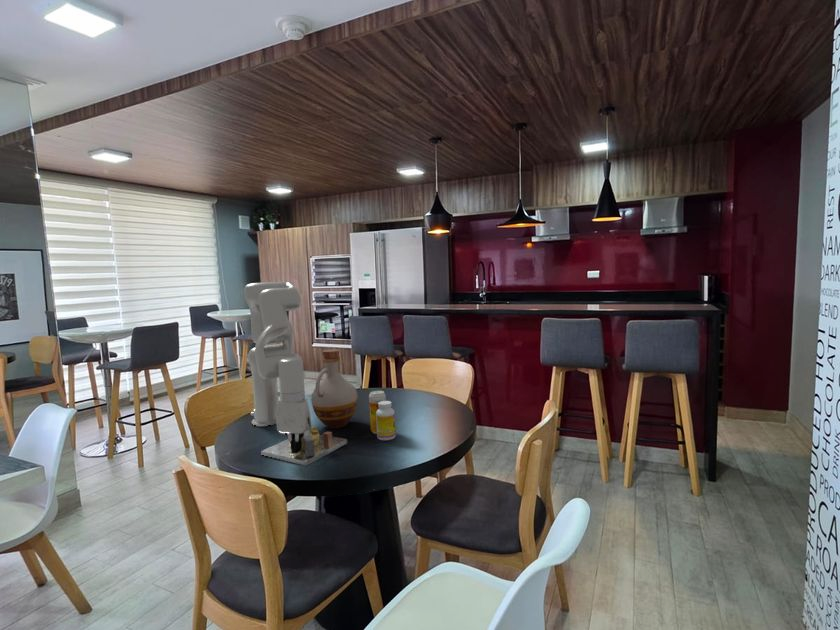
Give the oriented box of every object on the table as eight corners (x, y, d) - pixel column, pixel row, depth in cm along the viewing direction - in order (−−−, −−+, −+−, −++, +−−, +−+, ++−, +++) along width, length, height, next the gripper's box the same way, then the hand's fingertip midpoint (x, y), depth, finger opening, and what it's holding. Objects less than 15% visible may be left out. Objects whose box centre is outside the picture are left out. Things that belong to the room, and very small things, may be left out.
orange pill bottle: (373, 435, 160) (371, 395, 159) (368, 430, 166) (366, 391, 164) (389, 432, 162) (387, 392, 161) (384, 427, 168) (382, 389, 167)
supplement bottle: (396, 440, 155) (395, 404, 154) (378, 442, 154) (376, 406, 153) (394, 433, 161) (393, 399, 160) (376, 435, 160) (374, 400, 159)
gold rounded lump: (287, 441, 152) (286, 426, 152) (316, 436, 156) (315, 421, 156) (294, 459, 137) (293, 442, 137) (326, 452, 141) (325, 436, 141)
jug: (340, 436, 160) (333, 355, 157) (301, 432, 168) (294, 354, 165) (368, 419, 178) (362, 346, 175) (331, 415, 185) (325, 345, 183)
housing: (261, 455, 146) (259, 436, 146) (304, 435, 164) (303, 418, 163) (306, 465, 136) (304, 445, 136) (346, 443, 154) (345, 425, 153)
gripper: (265, 398, 138) (269, 455, 140) (308, 400, 134) (312, 458, 136) (278, 392, 145) (281, 445, 147) (319, 393, 142) (322, 448, 144)
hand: (296, 451), depth 142 cm, fingers closed
